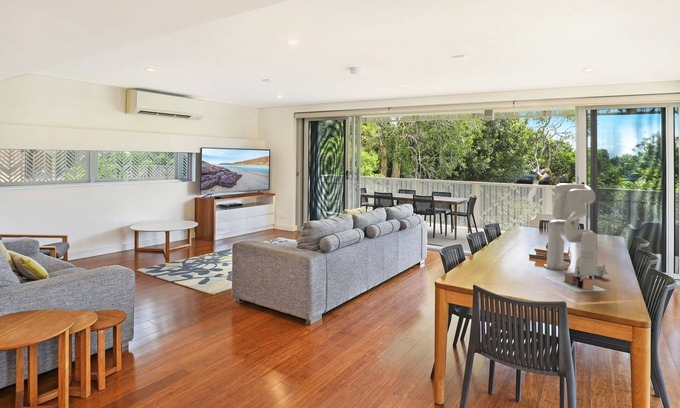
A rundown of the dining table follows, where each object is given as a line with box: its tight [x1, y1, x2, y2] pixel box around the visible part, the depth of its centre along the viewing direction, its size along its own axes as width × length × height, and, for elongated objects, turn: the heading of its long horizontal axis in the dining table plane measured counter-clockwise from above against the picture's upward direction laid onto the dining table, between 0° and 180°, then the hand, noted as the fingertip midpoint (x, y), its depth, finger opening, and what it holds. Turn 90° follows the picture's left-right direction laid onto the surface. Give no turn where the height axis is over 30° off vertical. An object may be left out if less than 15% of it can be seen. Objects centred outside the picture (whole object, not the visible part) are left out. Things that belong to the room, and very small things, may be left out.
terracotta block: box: [577, 276, 595, 289], centre depth 229 cm, size 6×6×5 cm
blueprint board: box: [543, 275, 606, 292], centre depth 237 cm, size 18×28×1 cm, turn 9°
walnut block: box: [564, 272, 581, 285], centre depth 237 cm, size 6×6×5 cm
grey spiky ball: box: [597, 263, 609, 279], centre depth 254 cm, size 9×8×10 cm
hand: (585, 287), depth 229 cm, fingers closed on terracotta block, 5 cm apart
